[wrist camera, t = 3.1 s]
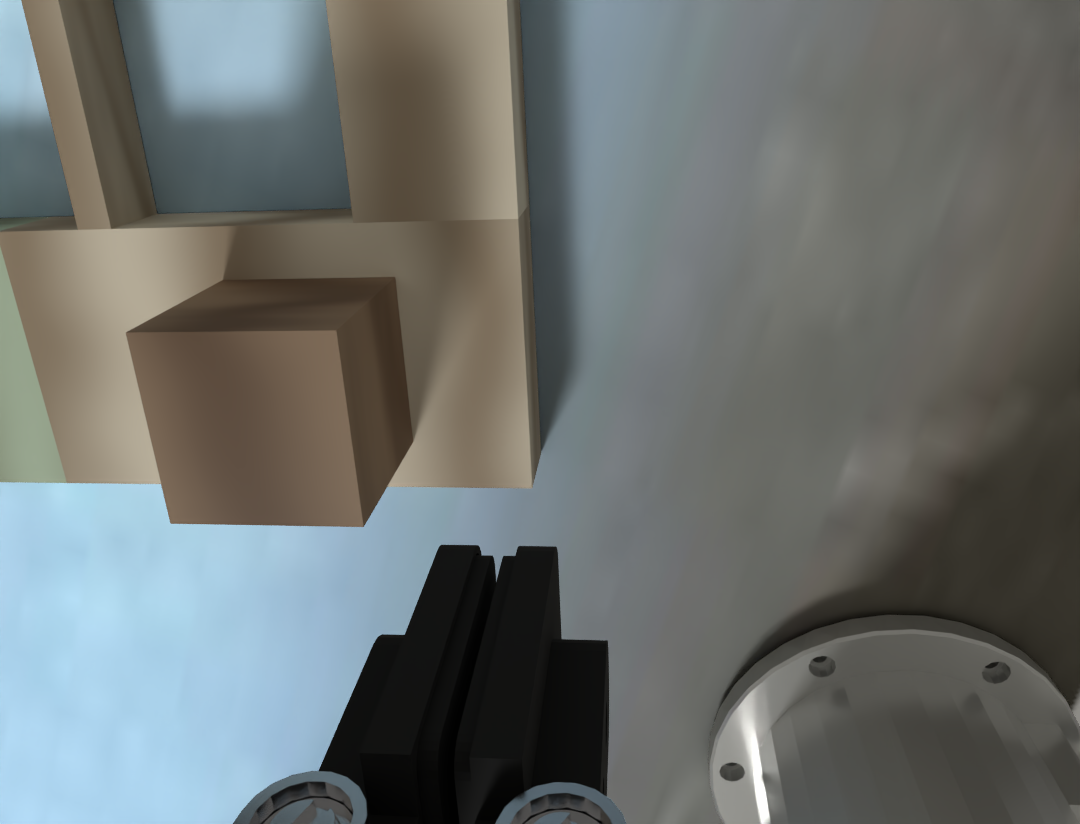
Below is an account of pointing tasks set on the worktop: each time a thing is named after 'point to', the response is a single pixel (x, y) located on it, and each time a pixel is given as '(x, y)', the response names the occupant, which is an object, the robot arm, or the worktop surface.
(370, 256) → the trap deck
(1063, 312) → the worktop surface
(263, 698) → the worktop surface
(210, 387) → the walnut block
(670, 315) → the worktop surface
